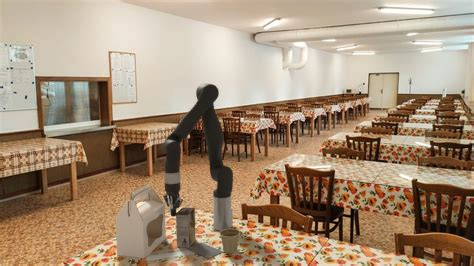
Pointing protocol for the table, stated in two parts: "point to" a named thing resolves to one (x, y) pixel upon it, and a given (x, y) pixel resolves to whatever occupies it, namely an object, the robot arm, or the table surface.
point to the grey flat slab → (204, 250)
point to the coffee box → (185, 227)
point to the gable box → (140, 224)
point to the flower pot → (230, 240)
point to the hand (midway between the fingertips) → (173, 215)
